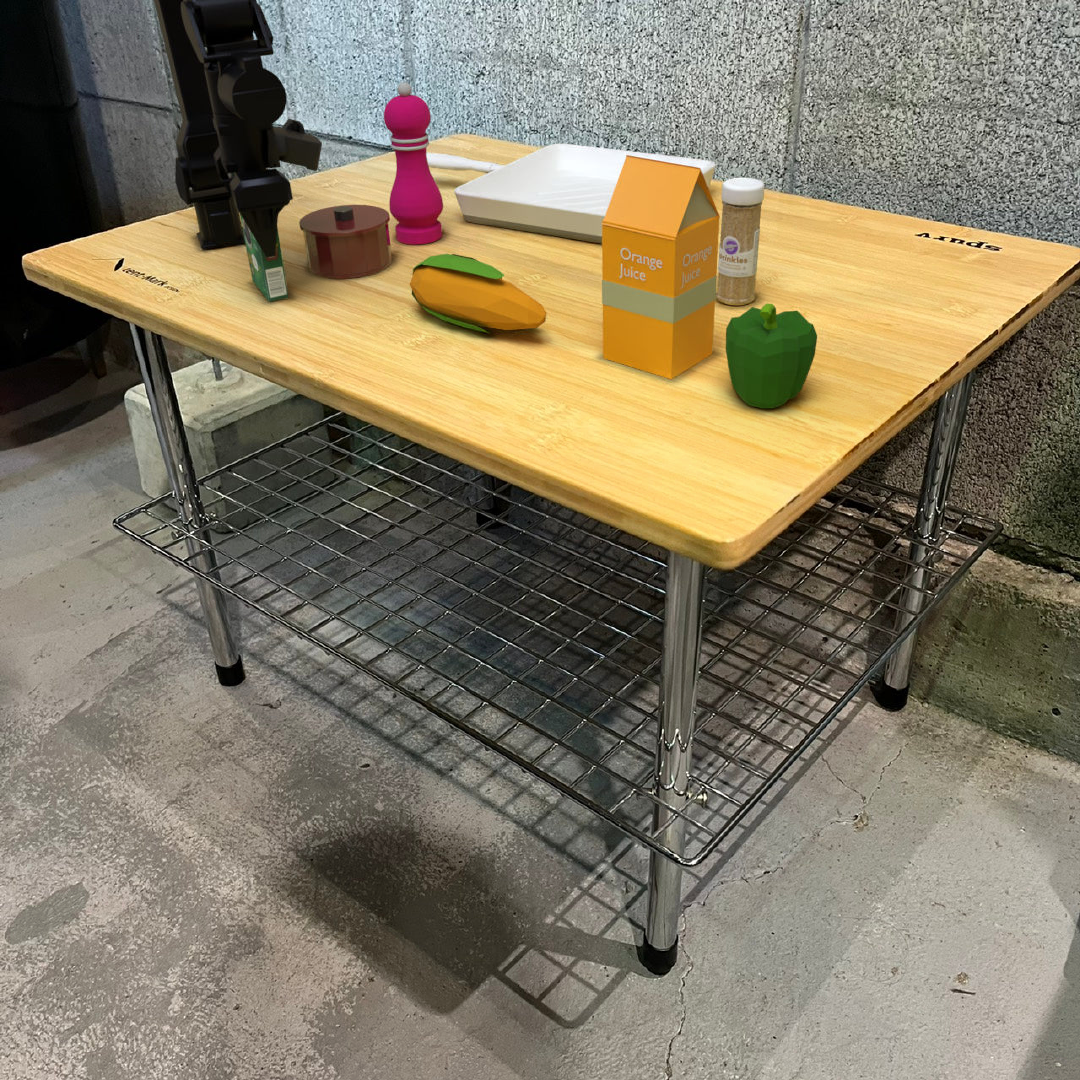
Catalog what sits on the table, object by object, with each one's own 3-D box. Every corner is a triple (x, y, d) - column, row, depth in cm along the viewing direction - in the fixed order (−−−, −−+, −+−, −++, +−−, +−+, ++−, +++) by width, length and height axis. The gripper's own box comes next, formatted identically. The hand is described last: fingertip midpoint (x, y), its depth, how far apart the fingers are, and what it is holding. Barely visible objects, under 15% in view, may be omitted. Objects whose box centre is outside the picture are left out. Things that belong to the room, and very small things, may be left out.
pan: (628, 253, 140) (628, 215, 138) (360, 209, 161) (355, 175, 158) (720, 193, 160) (721, 159, 157) (470, 161, 181) (468, 130, 178)
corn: (435, 233, 126) (568, 268, 115) (445, 294, 131) (573, 333, 120) (389, 255, 122) (521, 294, 111) (400, 318, 127) (528, 361, 115)
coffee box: (292, 299, 132) (272, 190, 125) (268, 303, 131) (248, 194, 124) (274, 278, 138) (255, 173, 131) (252, 283, 137) (231, 177, 130)
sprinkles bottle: (711, 304, 125) (717, 186, 118) (721, 290, 129) (727, 174, 121) (751, 308, 124) (759, 189, 116) (759, 294, 127) (768, 177, 120)
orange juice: (671, 379, 109) (677, 178, 98) (601, 358, 114) (600, 163, 103) (714, 353, 114) (724, 158, 103) (645, 333, 119) (648, 145, 108)
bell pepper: (756, 370, 110) (764, 275, 105) (825, 395, 105) (836, 296, 100) (703, 398, 106) (707, 300, 100) (772, 425, 101) (781, 324, 95)
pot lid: (292, 221, 142) (289, 203, 140) (378, 208, 145) (375, 190, 143) (310, 247, 133) (307, 228, 131) (400, 232, 136) (398, 214, 135)
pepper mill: (437, 247, 146) (422, 88, 134) (386, 245, 147) (367, 88, 136) (451, 229, 151) (438, 76, 140) (402, 228, 153) (385, 76, 142)
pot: (302, 258, 144) (295, 216, 141) (380, 245, 147) (375, 204, 144) (318, 284, 136) (311, 241, 133) (400, 270, 139) (396, 227, 136)
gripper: (326, 116, 118) (347, 257, 126) (294, 86, 132) (315, 214, 141) (222, 130, 115) (250, 273, 123) (201, 98, 129) (228, 228, 138)
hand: (264, 245), depth 131 cm, fingers closed on coffee box, 8 cm apart
